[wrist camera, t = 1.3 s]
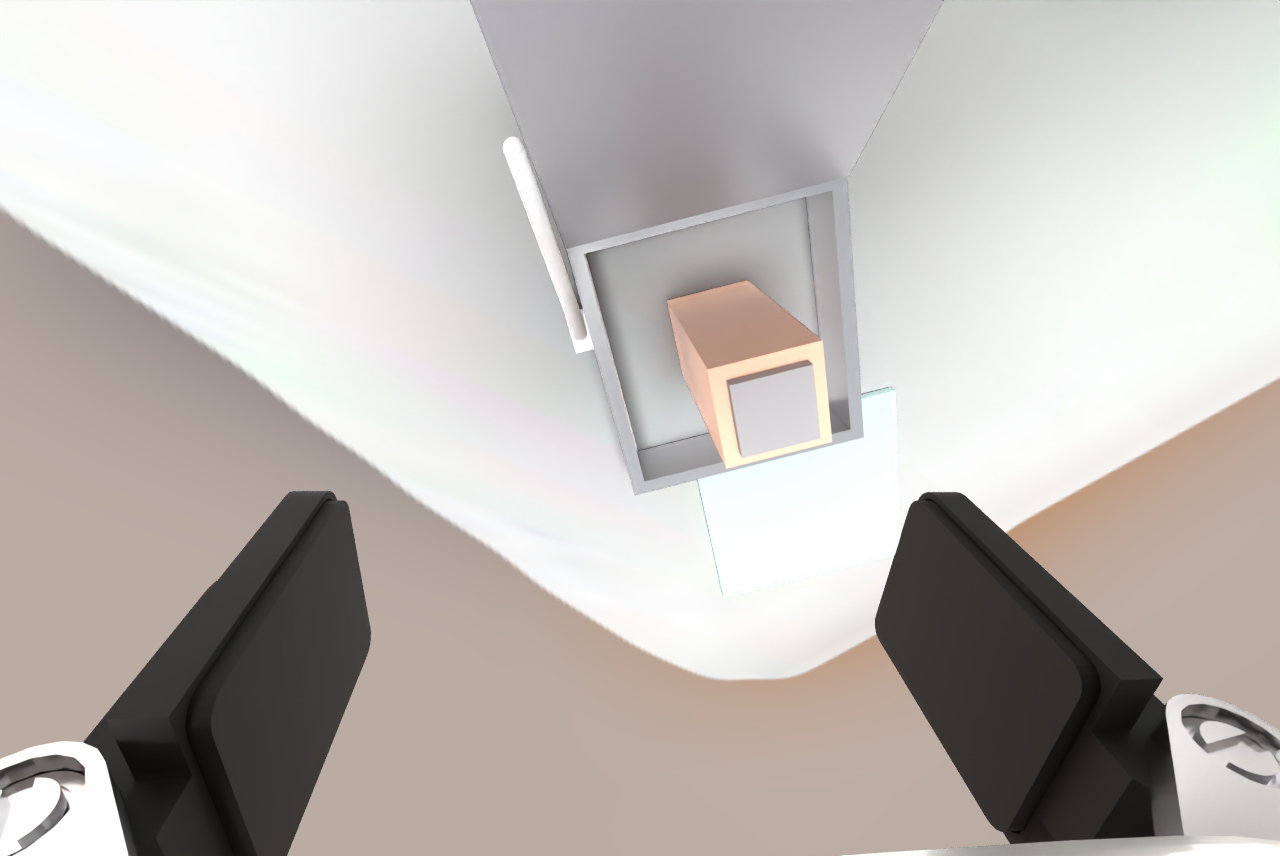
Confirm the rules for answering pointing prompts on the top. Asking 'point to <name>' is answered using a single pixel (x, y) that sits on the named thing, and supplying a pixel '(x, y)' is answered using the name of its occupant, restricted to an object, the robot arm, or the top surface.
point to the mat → (808, 508)
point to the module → (751, 372)
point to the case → (697, 149)
